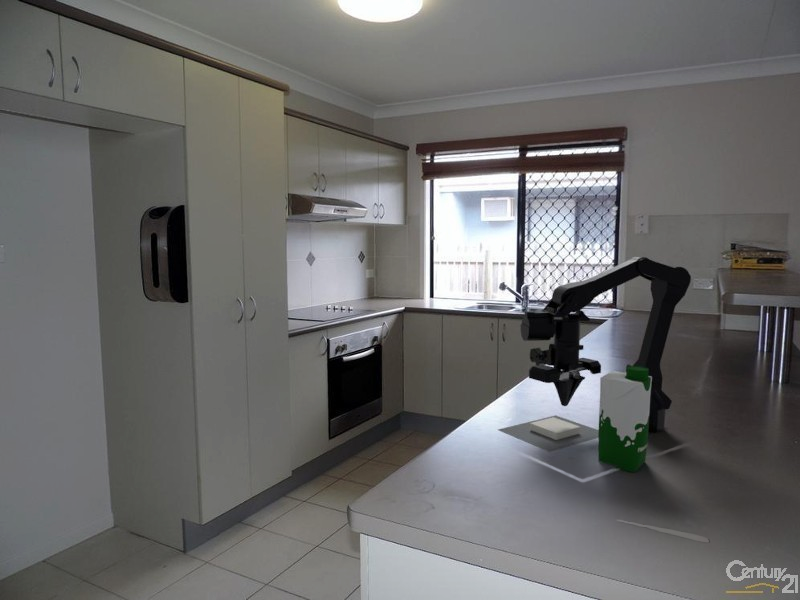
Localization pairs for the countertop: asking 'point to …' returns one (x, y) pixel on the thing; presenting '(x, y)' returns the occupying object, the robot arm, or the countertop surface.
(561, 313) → the robot arm
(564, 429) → the tile
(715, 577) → the countertop surface
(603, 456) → the milk carton
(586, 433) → the mat
